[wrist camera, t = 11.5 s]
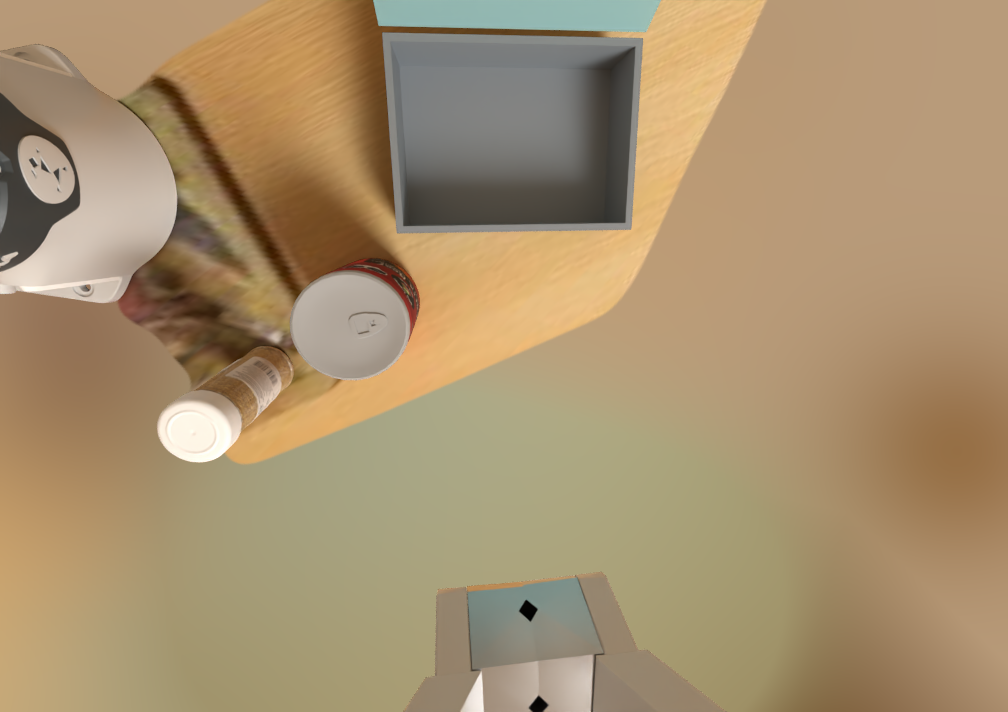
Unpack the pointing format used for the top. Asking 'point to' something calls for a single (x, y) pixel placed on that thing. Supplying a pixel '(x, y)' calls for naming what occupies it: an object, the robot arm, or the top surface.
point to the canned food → (355, 319)
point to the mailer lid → (519, 14)
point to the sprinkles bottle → (224, 405)
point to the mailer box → (512, 131)
